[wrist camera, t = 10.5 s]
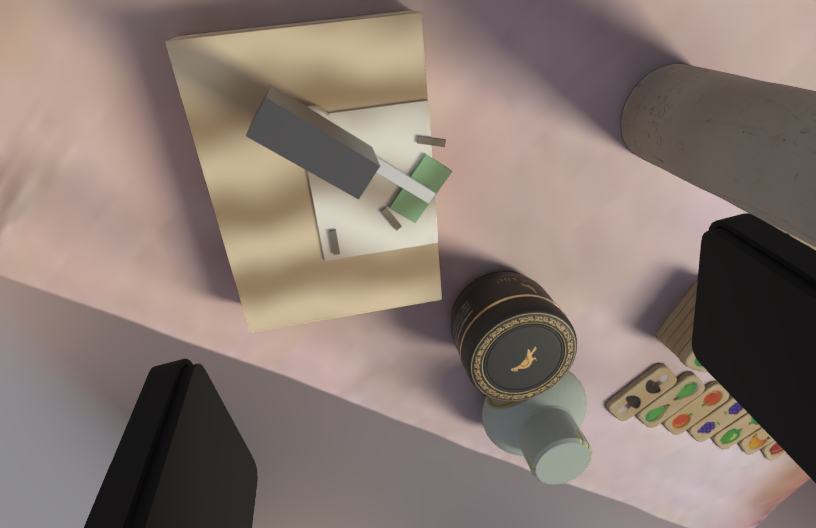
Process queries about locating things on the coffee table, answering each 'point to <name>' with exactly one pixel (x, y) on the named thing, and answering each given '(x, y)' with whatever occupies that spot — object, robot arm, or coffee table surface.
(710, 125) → the thermos bottle
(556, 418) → the pale green rounded vessel
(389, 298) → the tan flat box
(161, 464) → the robot arm
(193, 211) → the coffee table surface
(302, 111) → the peg
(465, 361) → the jar
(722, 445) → the pile of dominoes
